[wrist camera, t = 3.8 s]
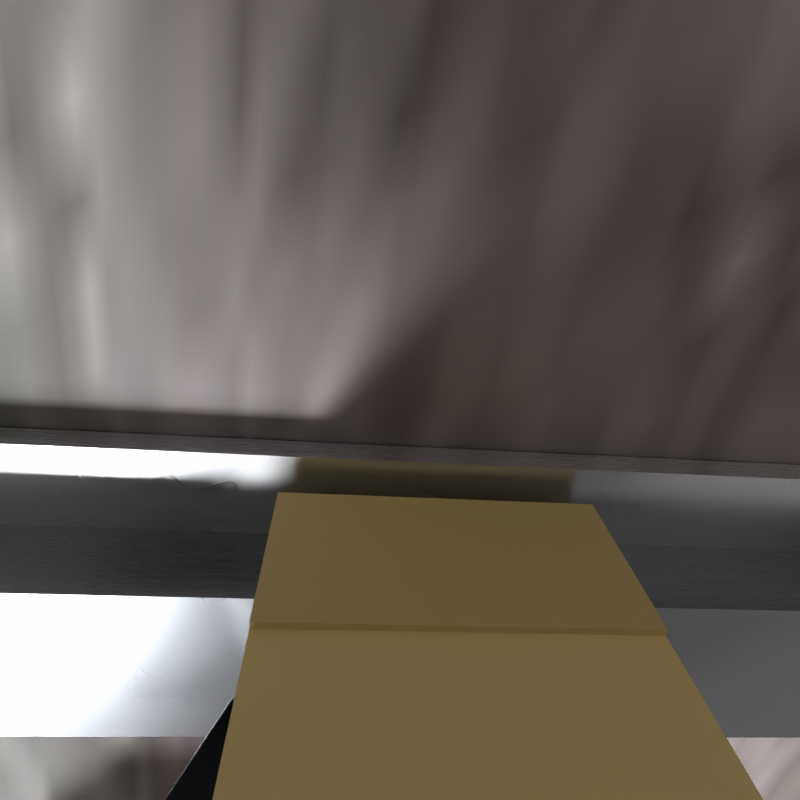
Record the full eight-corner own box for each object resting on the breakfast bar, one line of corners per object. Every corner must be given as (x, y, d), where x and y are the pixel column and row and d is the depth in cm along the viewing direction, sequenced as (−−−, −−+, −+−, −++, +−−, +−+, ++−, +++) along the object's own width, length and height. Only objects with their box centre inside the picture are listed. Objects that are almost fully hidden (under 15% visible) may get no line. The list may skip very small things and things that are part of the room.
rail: (1088, 478, 11) (1229, 548, 9) (937, 699, 14) (1026, 787, 12) (-186, 418, 9) (-320, 493, 7) (-85, 691, 12) (-167, 796, 10)
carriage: (592, 504, 10) (835, 906, 5) (533, 722, 12) (656, 1149, 7) (278, 491, 9) (183, 923, 4) (277, 720, 11) (214, 1178, 6)
